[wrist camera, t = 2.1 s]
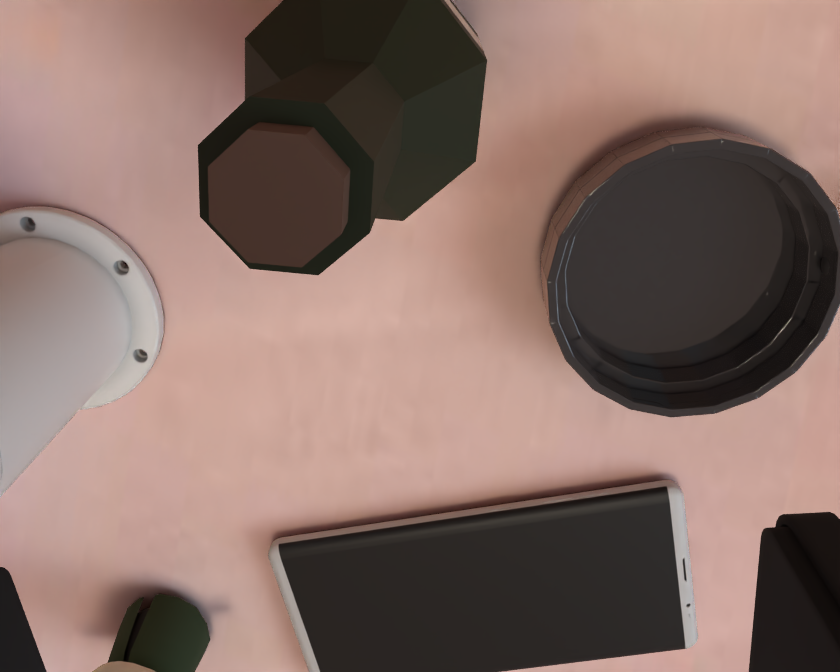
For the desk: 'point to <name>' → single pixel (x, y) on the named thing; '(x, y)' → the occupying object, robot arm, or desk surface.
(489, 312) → the desk surface
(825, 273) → the pan handle
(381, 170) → the wine bottle
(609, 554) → the smartphone
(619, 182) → the pan
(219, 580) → the desk surface
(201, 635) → the character mug
